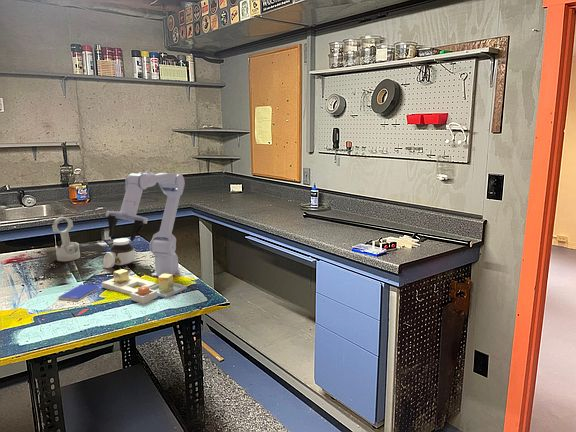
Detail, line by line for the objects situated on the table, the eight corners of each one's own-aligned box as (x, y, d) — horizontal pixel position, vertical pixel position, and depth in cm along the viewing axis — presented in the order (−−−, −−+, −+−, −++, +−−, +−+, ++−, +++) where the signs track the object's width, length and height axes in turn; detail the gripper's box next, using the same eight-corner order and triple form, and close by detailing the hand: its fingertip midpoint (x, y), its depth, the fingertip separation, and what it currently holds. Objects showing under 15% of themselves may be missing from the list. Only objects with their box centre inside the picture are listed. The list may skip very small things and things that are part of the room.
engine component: (84, 257, 209) (73, 253, 215) (79, 216, 204) (68, 213, 210) (61, 263, 200) (51, 259, 206) (56, 220, 196) (45, 217, 202)
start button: (144, 292, 163) (144, 285, 162) (152, 294, 161) (151, 287, 160) (136, 296, 159) (135, 289, 159) (143, 298, 157) (142, 291, 157)
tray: (167, 284, 176) (166, 280, 175) (187, 289, 170) (186, 286, 170) (145, 293, 166) (145, 289, 166) (165, 299, 161) (165, 295, 161)
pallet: (125, 278, 181) (124, 274, 181) (156, 287, 172) (156, 283, 171) (102, 287, 172) (101, 282, 172) (134, 297, 163) (133, 292, 162)
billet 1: (122, 282, 177) (121, 269, 176) (129, 284, 175) (128, 270, 174) (114, 286, 174) (113, 271, 172) (121, 288, 172) (119, 273, 170)
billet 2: (164, 287, 170) (163, 273, 169) (173, 288, 170) (172, 274, 168) (159, 291, 167) (158, 277, 165) (168, 292, 166) (167, 277, 165)
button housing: (145, 294, 165) (144, 287, 164) (157, 298, 162) (156, 291, 161) (131, 300, 159) (130, 293, 159) (143, 304, 156) (142, 297, 155)
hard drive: (77, 298, 159) (98, 285, 171) (58, 296, 161) (80, 284, 173) (78, 302, 159) (98, 289, 171) (58, 300, 161) (80, 287, 173)
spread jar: (137, 262, 202) (135, 238, 199) (124, 270, 191) (122, 245, 188) (114, 261, 204) (112, 237, 201) (99, 269, 193) (97, 243, 190)
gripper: (108, 196, 156) (97, 232, 151) (148, 203, 157) (139, 239, 153) (112, 202, 162) (102, 237, 158) (151, 209, 164) (142, 244, 159)
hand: (120, 238), depth 156 cm, fingers open, 7 cm apart
